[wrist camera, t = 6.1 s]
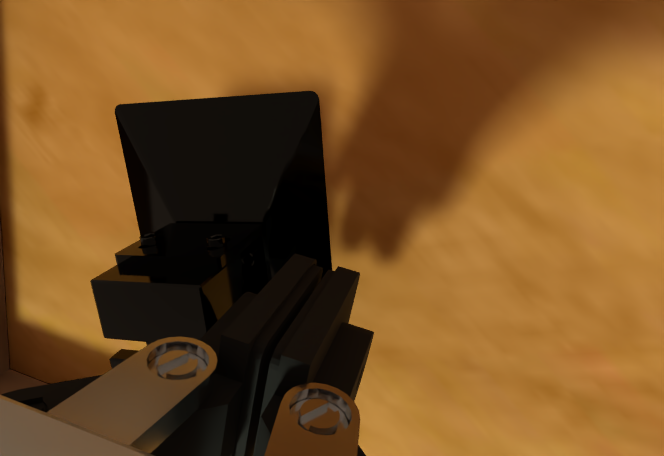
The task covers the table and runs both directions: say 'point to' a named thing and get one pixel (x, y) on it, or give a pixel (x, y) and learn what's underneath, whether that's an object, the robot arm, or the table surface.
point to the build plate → (212, 209)
